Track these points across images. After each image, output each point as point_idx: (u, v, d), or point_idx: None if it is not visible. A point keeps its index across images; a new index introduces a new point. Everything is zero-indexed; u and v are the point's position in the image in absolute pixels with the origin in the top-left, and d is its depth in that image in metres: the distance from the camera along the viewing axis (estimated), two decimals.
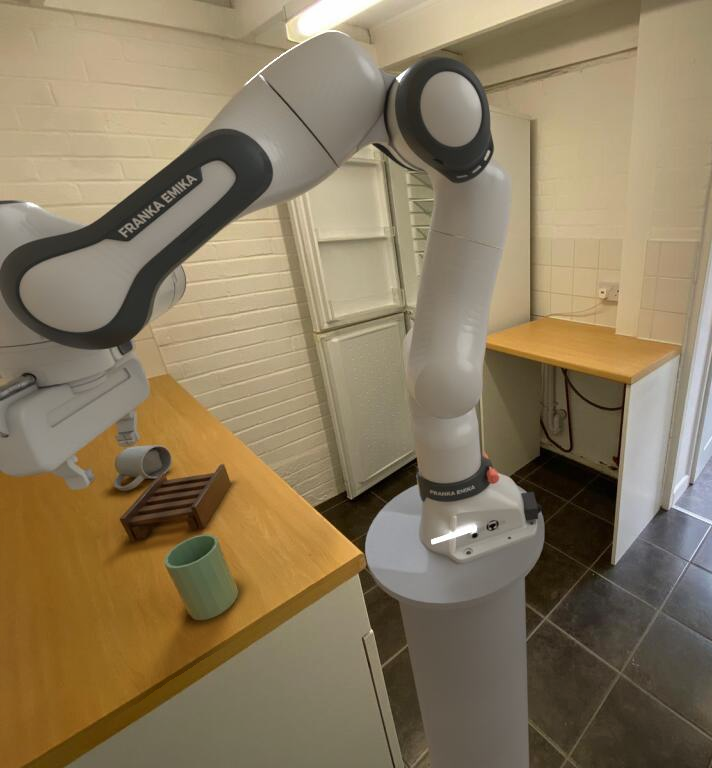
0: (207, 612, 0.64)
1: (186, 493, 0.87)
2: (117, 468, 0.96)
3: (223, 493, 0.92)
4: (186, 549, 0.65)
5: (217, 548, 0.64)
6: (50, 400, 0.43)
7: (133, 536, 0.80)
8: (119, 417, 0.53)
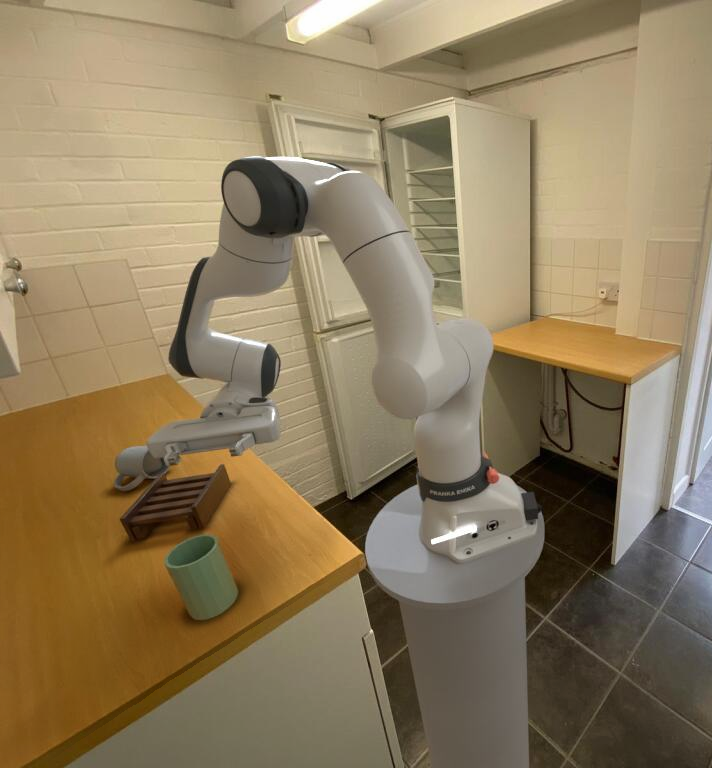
0: (207, 612, 0.64)
1: (186, 493, 0.87)
2: (117, 468, 0.96)
3: (223, 493, 0.92)
4: (186, 549, 0.65)
5: (217, 548, 0.64)
6: (187, 420, 0.77)
7: (133, 536, 0.80)
8: (224, 431, 0.74)
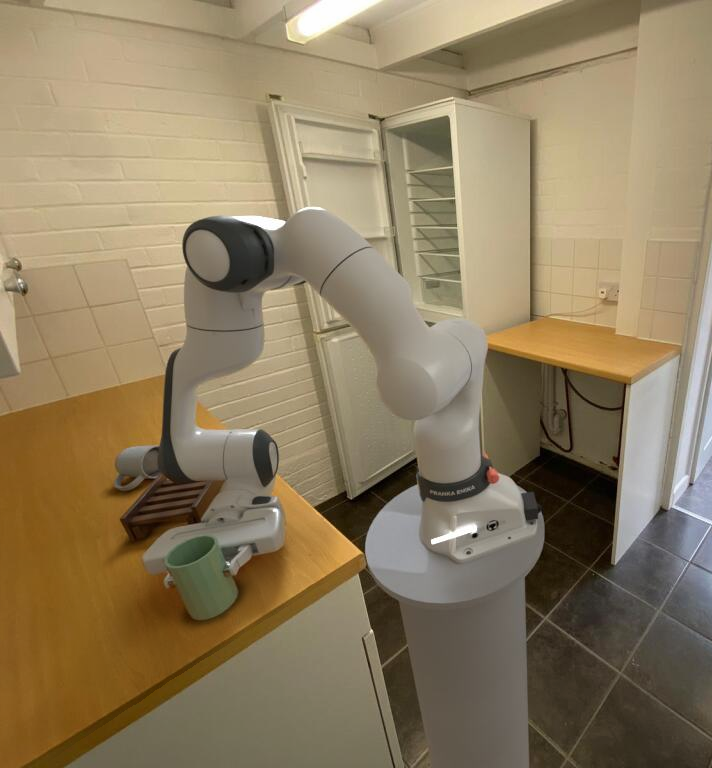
0: (207, 612, 0.64)
1: (186, 493, 0.87)
2: (117, 468, 0.96)
3: None
4: (186, 549, 0.65)
5: (217, 548, 0.64)
6: (186, 527, 0.72)
7: (133, 536, 0.80)
8: (224, 543, 0.68)
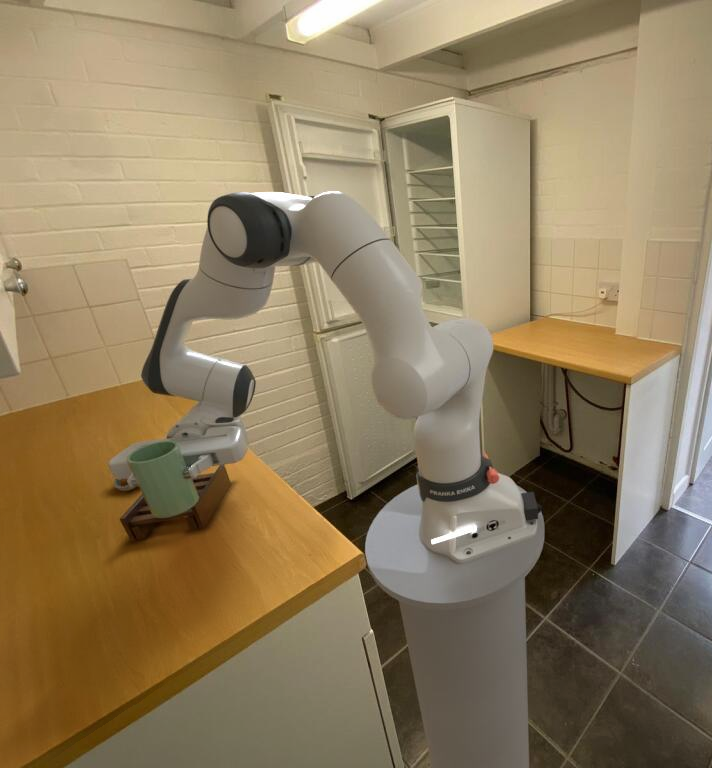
0: (168, 509, 0.69)
1: None
2: None
3: (223, 493, 0.92)
4: (149, 453, 0.70)
5: (177, 451, 0.69)
6: (152, 441, 0.77)
7: (133, 536, 0.80)
8: (186, 452, 0.74)
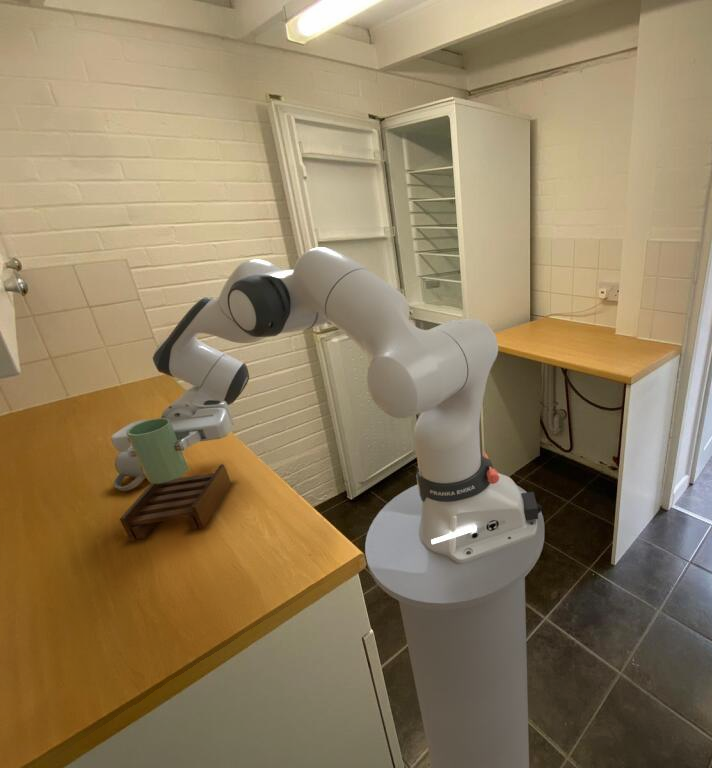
0: (161, 476, 0.81)
1: (186, 493, 0.87)
2: (117, 468, 0.96)
3: (223, 493, 0.92)
4: (145, 428, 0.82)
5: (169, 426, 0.81)
6: None
7: (133, 536, 0.80)
8: (178, 428, 0.86)
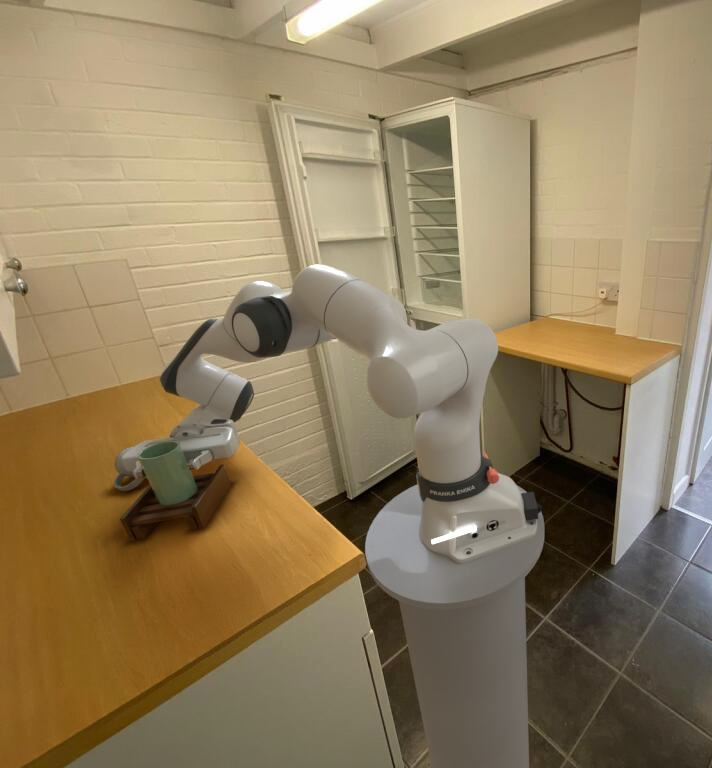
0: (171, 498, 0.83)
1: None
2: (117, 468, 0.96)
3: (223, 493, 0.92)
4: (156, 451, 0.84)
5: (179, 449, 0.83)
6: (158, 439, 0.91)
7: (133, 536, 0.80)
8: (186, 448, 0.88)
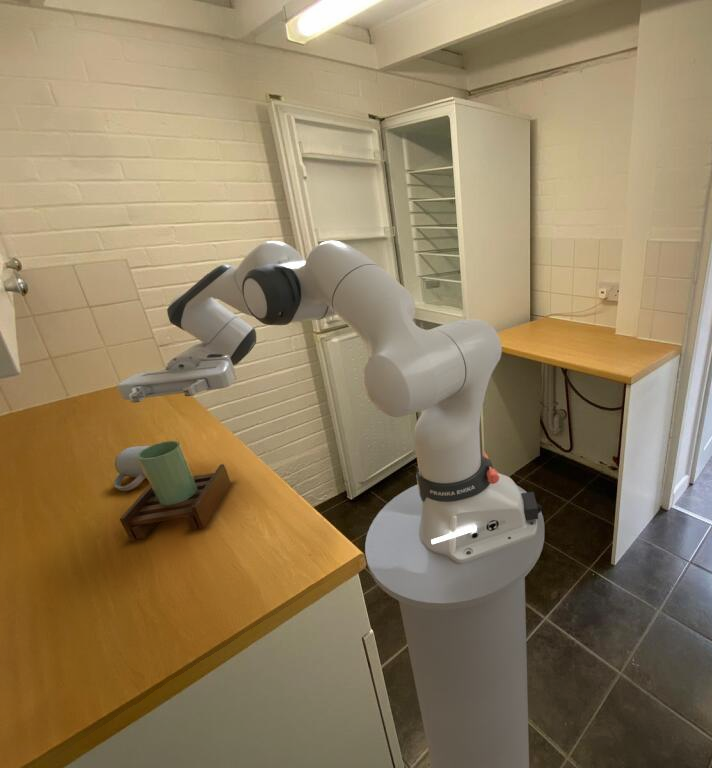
0: (171, 498, 0.83)
1: None
2: (117, 468, 0.96)
3: (223, 493, 0.92)
4: (156, 451, 0.84)
5: (179, 449, 0.83)
6: (154, 371, 0.91)
7: (133, 536, 0.80)
8: (182, 377, 0.88)
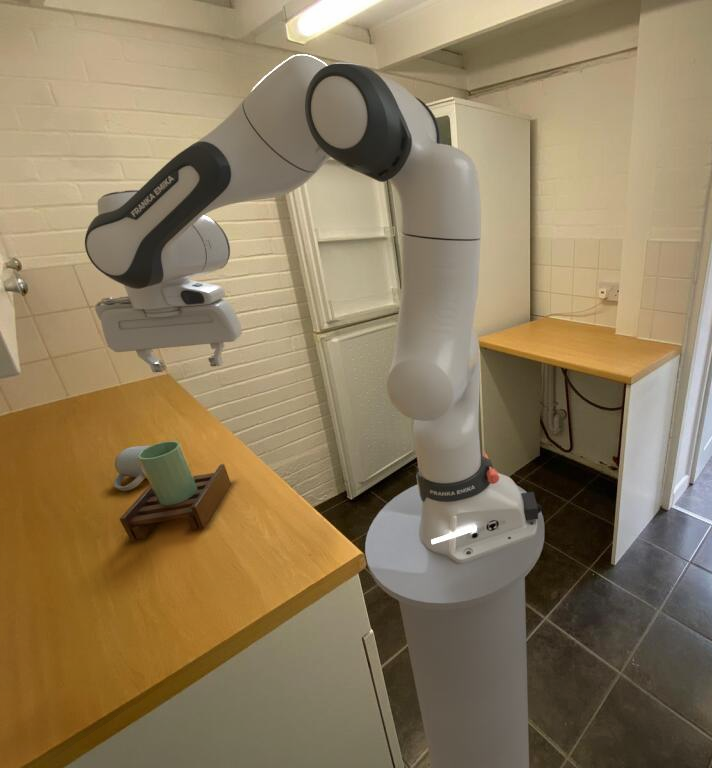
0: (171, 498, 0.83)
1: None
2: (117, 468, 0.96)
3: (223, 493, 0.92)
4: (156, 451, 0.84)
5: (179, 449, 0.83)
6: (123, 314, 0.71)
7: (133, 536, 0.80)
8: (188, 343, 0.75)
